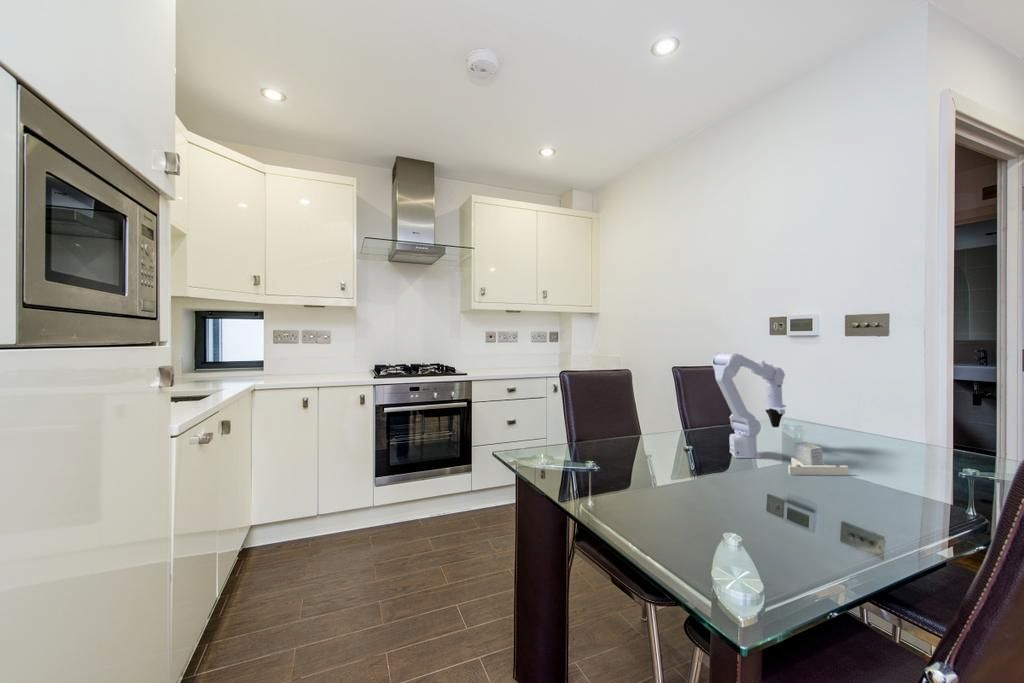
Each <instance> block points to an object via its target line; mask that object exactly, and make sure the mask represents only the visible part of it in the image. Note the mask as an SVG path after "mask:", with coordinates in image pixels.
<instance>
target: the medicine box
mask: <svg viewBox="0 0 1024 683" xmlns="http://www.w3.org/2000/svg"><path fill="white" fill-rule="evenodd" d="M794 452H795V453H794V454H795V456H794V458H795V459H796V460H797V461H799V462H800V463H802V464H803V465H820V466H823V463H824V460H823V459H824V458H823V457H824V456H823V448H822V447H820V446H818V445H815V444H813V443H810V442H807V441H800V442H799V441H797V442H794Z"/></svg>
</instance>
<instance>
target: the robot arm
mask: <svg viewBox="0 0 1024 683" xmlns="http://www.w3.org/2000/svg"><path fill="white" fill-rule="evenodd" d="M710 364H711V367H712V368H713V370H714V377H715V381H716V383H717V385H718V387H719V389H720V391H721V393H722V395H723V398H724V399H725V401H726V404H727V405H728V408H729V410H730V412H731V414H730V416H729V421H730V427H731V428H732V430H734V433H731V434H729V437H728V438H729V453H730V454H732V456H733V457H734V458H737V459H761V458H762V456H761V455H760V454H759V453H758V448H757V447H758V444H757V443H758V442H757V436H758V435H759V433H760V432H761V428H762V427H761V422H760V421H759V420H758V419H757V418H756V417H755V416H754V414H752V413H751V412H750V411H748V409H747V407H746V405H745V404H744V401H743V399H742V397H741V395H740V392H739V391H738V389H737V385H736V384H735V382H734V380H733V378H735V377H736V376H737V374H738V373H739V371H740V369H741V367H744V368H747V369H749V370H750V371H751V373H753V374H755V375H757V376H758V377H761V378H762V379H763V380H765V382H764V385H765V401H764V407H766V408H768V409H765V412H766V414H767V416H768V418H769V421H770V425H771V427H772V428H780V424H781V419H782V417H783V416H784V415H785V414H786V410H785V408H786V406H787V405H786V404H783V388H782V387H783V386H782V385H783V384H784V379H785V375H786V373H785V371H784V370H783V369H782V368H781V367H778V366H777V367H776V366H773V364H770V363H769V364H768V363H765V361H764V360H762V359H761V360H755V361H754V360H752V359H750V358H747V357H746V356H744V355H743V354H739V353H726V352H724V353H723V352H716V353H715V354H714V355H713V356H712V359H711V363H710Z"/></svg>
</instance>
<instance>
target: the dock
mask: <svg viewBox="0 0 1024 683" xmlns="http://www.w3.org/2000/svg"><path fill="white" fill-rule="evenodd" d="M790 459H791V461H790V463H791V465H790V464H789V465H788V466H787V468H788V471H787V472H788V474H789V475H790V476H849V466H848V465H838V464H834V465H827V464H826V463H824V462H823V466H820V465H803V464H802V463H800V462H799V461H797V460H796V459H795V457H790Z"/></svg>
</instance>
